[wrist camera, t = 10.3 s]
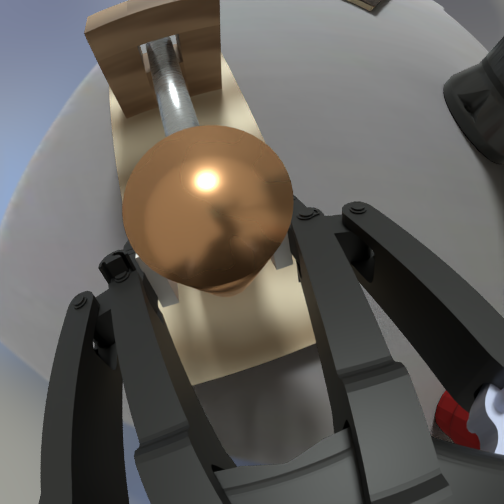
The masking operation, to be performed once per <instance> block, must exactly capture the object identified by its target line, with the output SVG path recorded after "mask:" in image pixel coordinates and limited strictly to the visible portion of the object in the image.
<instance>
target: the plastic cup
mask: <svg viewBox="0 0 504 504" xmlns="http://www.w3.org/2000/svg"><path fill="white" fill-rule="evenodd" d="M435 417H436V423H437V424H438V426H439V427H440V429H441V430H442V431H443V432H444V433H445V434H447V435H448V436H449V437H450V438H451V439H452V440H453V442H454V443H455V444H458V445H462V446H466V447H470V448H474V449H478V450H480V441H479V438H478V436H477V435H476V433H471V432H469V431H468V429H467V421H468V419H469V413H468V412H467V411H466V410H464V409H463V408H462V407H461V406H460V405H459V404H458V403H457V402H456V401H455V400H454V399H453V398H452V397H451V395H450V394H449V393H448V392H447V390H446V391H445V392H444V394H443V395H442V397H441V399H440V401H439V403H438V405H437V409H436V414H435Z"/></svg>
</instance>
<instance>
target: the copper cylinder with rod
mask: <svg viewBox="0 0 504 504" xmlns="http://www.w3.org/2000/svg"><path fill="white" fill-rule="evenodd" d="M146 50H147V55H148V60H149V65H150V70H151V75H152V80H153V84H154V89H155V94H156V98H157V102H158V107H159V111H160V116H161V120H162V124H163V128H164V132H165V136H166V138H164V139H162V140H161V141H159V142H158V143H156V144H155V145H154V146H153V147H152V148H151V149H149V150H148V151H147V152H146V153H145V154H144V156H143V157H142V158H141V159H140V160H139V162H138V163H137V164H136V166H135V168H134V169H133V171H132V173H131V175H130V177H129V179H128V182H127V184H126V188H125V192H124V196H123V204H122V216H123V223H124V228H125V231H126V235H127V237H128V240H129V242H130V244H131V246H132V248H133V249H134V251H135V252H136V254H137V255H138V256H139V257H140V259H141V260H142V261H143V262H144V263H145V264H146V265H147V266H148V267H150V268H151V269H152V270H153V271H155V272H156V273H158V274H159V275H161V276H163V277H165V278H167V279H169V280H171V281H174V282H177V283H180V284H182V285H185V286H188V287H191V288H194V289H197V290H200V291H203V292H206V293H209V294H212V295H215V296H219V297H230V296H234V295H237V294H239V293H241V292H242V291H244V290H245V289H246V288H247V287H248V286H249V285H250V283H251V282H252V281H253V280H254V278H255V277H256V276H257V275H258V273H259V272H260V271H261V270H262V268H263V267H264V266H265V265H266V263H267V262H268V261H269V260H270V258H271V257H272V256H273V255H274V253H275V252H276V250H277V249H278V248H279V246H280V245H281V243H282V242H283V240H284V238H285V236H286V234H287V231H288V229H289V226H290V223H291V219H292V214H293V203H294V202H293V190H292V185H291V181H290V178H289V175H288V173H287V170H286V169H285V167H284V165H283V163H282V161H281V160H280V159H279V157H278V156H277V154H276V153H275V152H274V151H273V150H272V149H271V148H270V147H269V146H268V145H266V144H265V143H264V142H263V141H261V140H260V139H258V138H257V137H255V136H254V135H251V134H249V133H247V132H245V131H242V130H239V129H236V128H232V127H228V126H220V125H203V126H200V125H199V122H198V119H197V116H196V113H195V110H194V107H193V104H192V101H191V98H190V95H189V92H188V89H187V86H186V83H185V80H184V77H183V74H182V71H181V68H180V65H179V62H178V59H177V56H176V53H175V50H174V47H173V44H172V41H171V38H170V37H169V36H168V37H164V38H161V39H158V40H154V41H151V42H148V43H146Z"/></svg>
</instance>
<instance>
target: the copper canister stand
mask: <svg viewBox="0 0 504 504" xmlns="http://www.w3.org/2000/svg"><path fill="white" fill-rule="evenodd" d="M84 34H85V36H86V39H87V41H88V43H89V45H90V47H91V49H92V51H93V53H94V55H95V57H96V60H97V62H98V64H99V66H100V68H101V70H102V72H103V74H104V76H105V78H106V80H107V82H108V84H109V94H110V110H111V123H112V133H113V142H114V151H115V158H116V166H117V172H118V179H119V185H120V191H121V197H122V202H123V196H124V192H125V188H126V184H127V182H128V179H129V177H130V175H131V173H132V171H133V169H134V168H135V166H136V164H137V163H138V162H139V160H140V159H141V158H142V157H143V156H144V154H145V153H146V152H147V151H148V150H149V149H151V148H152V147H153V146H154V145H155V144H156V143H158V142H159V141H161V140H162V139H164V138H166V136H165V132H164V128H163V124H162V120H161V116H160V111H159V107H158V102H157V98H156V94H155V89H154V84H153V80H152V75H151V70H150V65H149V60H148V55H147V53H145V54H142V51H141V47H140V45H142V44H145V43H148V42H151V41H154V40H158V39H161V38H164V37H168V36H171V35H176V41H177V44H174V45H173V47H174V50H175V53H176V56H177V59H178V62H179V65H180V68H181V71H182V74H183V77H184V80H185V83H186V86H187V89H188V92H189V95H190V98H191V101H192V104H193V107H194V110H195V113H196V116H197V119H198V122H199V125H200V126H203V125H220V126H228V127H232V128H236V129H239V130H242V131H245V132H247V133H249V134H251V135H254V136H255V137H257V138H258V139H260V140H261V141H263V142H264V143H265V141H264V139H263V137H262V135H261V132H260V130H259V128H258V126H257V124H256V122H255V120H254V117H253V115H252V113H251V111H250V109H249V107H248V105H247V103H246V101H245V99H244V97H243V95H242V92H241V90H240V88H239V86H238V84H237V82H236V80H235V78H234V76H233V74H232V73H231V71H230V69H229V67H228V65H227V63H226V61H225V59H224V57H223V55H222V53H221V43H220V0H128V1H126V2H123V3H120V4H118V5H115V6H112V7H110V8H107V9H105V10H102V11H100V12H98V13H95V14H93V15H91V16H89V17H88V18H87V23H86V27H85V32H84ZM265 144H266V143H265ZM292 259H293V265H290V266H287V267H284V268H281V269H278V270H276V268H275V266H274V264H273V263H272V261H271V259H270V260H269V261H268V262H267V263H266V265H265V266H264V267H263V268H262V270H261V271H260V272H259V273H258V275H257V276H256V277H255V278H254V280H253V281H252V282H251V283H250V285H249V286H248V287H247V288H246V289H245V290H244V291H242V292H241V293H239V294H237V295H234V296H230V297H219V296H215V295H212V294H209V293H206V292H203V291H200V290H197V289H194V288H191V287H188V286H185V285H182V284H180V283H177V284H178V295H179V303H177V304H173V305H170V306H167V307H164V308H163V307H162V305H161V303H160V302H159V300H158V307H159V309H160V311H161V312H162V314H163V316H164V319H165V322H166V324H167V327H168V330H169V332H170V335H171V338H172V340H173V343H174V345H175V348H176V350H177V353H178V355H179V357H180V360H181V362H182V365H183V367H184V369H185V372H186V374H187V376H188V378H189V381H190V383H191V385H196V384H200V383H203V382H207V381H210V380H214V379H217V378H220V377H224V376H227V375H230V374H233V373H236V372H239V371H242V370H245V369H248V368H251V367H254V366H257V365H260V364H263V363H266V362H268V361H271V360H274V359H277V358H279V357H282V356H285V355H287V354H290V353H292V352H295V351H297V350H300V349H302V348H305V347H307V346H310V345H312V344H315V343H316V340H315V336H314V332H313V328H312V324H311V320H310V316H309V312H308V308H307V305H306V301H305V297H304V293H303V290H302V286H301V282H298V273H297V265H296V259H295V258H294V257H293V255H292Z"/></svg>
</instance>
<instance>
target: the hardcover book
mask: <svg viewBox="0 0 504 504" xmlns="http://www.w3.org/2000/svg"><path fill="white" fill-rule="evenodd" d="M347 1H349V2H352V3H354V4H356V5H358V6H360V7H362V8H364V9H366V10H368V11H371V10H372V9H373V8H374V7H375V6H376V5H377V4H379V3H380V2H381V1H382V0H347Z"/></svg>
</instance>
